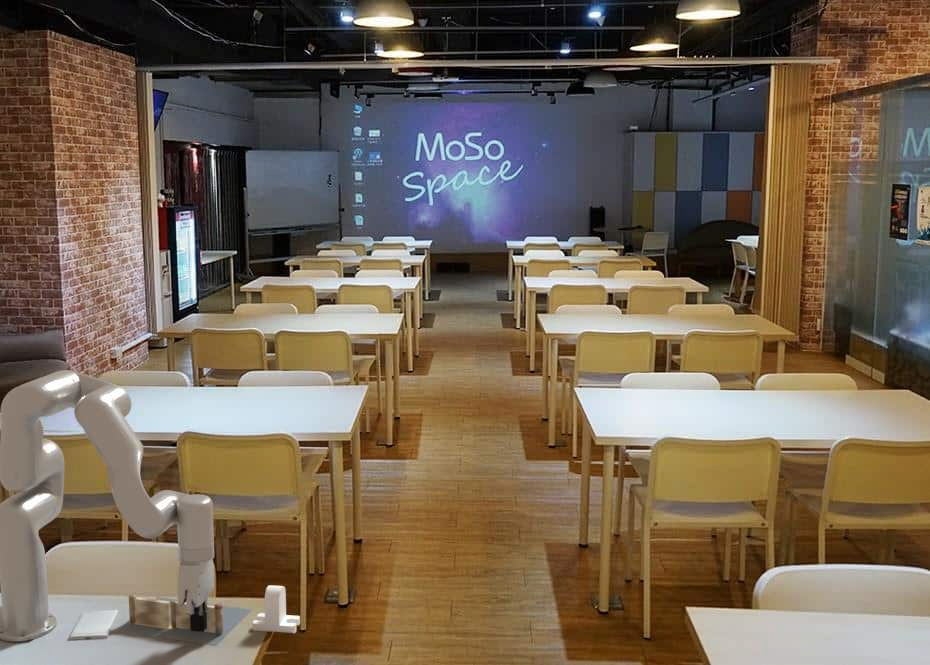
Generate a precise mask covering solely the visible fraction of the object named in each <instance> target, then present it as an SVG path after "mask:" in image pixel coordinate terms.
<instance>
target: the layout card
mask: <svg viewBox="0 0 930 665" xmlns="http://www.w3.org/2000/svg"><path fill="white" fill-rule="evenodd" d="M155 600H162V601H170V602H171V601H172V600H176V601H178V599H174V598H166V597H160V596H158V597H156V598H155ZM207 605H212V606H215V604H213V603H207ZM252 611H253V609H250V608H241V607H234V606H228V605H227V606H226V605H223V607H222V614H223V633H221V634H216V633H212V632H205V631H204V632H199V631H191V630H190V629H184V628H177V627H174V628H173V627H171V626H170V627H169V628H166V627H159V626H152V625H144V624H137V623H135V624H131V623H130V619H129V620H127V621H126V622H125V623H123V625H121V626H120V627H118V628H117V629H116V630H115V632H118V633H124V634H131V635H139V636H146V637H153V638H160V639H166V640H167V639H168V640H174V641H181V642H188V643H194V644H195V643H196V644H201V645H202V644H203V645H208V646H209V645H210V646H218V644H219V643H221V641H223V640H224V639H225V637H226V636H227V635H229V633H231V632H232V630H233V629H235V628H236V627H237V626H238V625H239V624H240V623H241V622H242V620H244V619H245V617H247V616H248V615H249V614H250V613H251V612H252ZM170 612H171V603H170Z"/></svg>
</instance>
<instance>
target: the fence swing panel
mask: <svg viewBox="0 0 930 665" xmlns="http://www.w3.org/2000/svg"><path fill="white" fill-rule="evenodd" d="M176 600H177V599H175V600H172V601H171V602H170V603H171V627H173V628H174V627H177V628H184V629H190V615H189V614H186V602H185V603H184V604H183V605H182V606H179V605H178V601H176ZM214 605H215V606H212V605H207V610H206V611H204V612H207V628H206V629H205V632H212V633H216V634H221V633H223V614H222V607H223V606H224V605H223V603H221V602H220V603H215V604H214Z"/></svg>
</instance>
